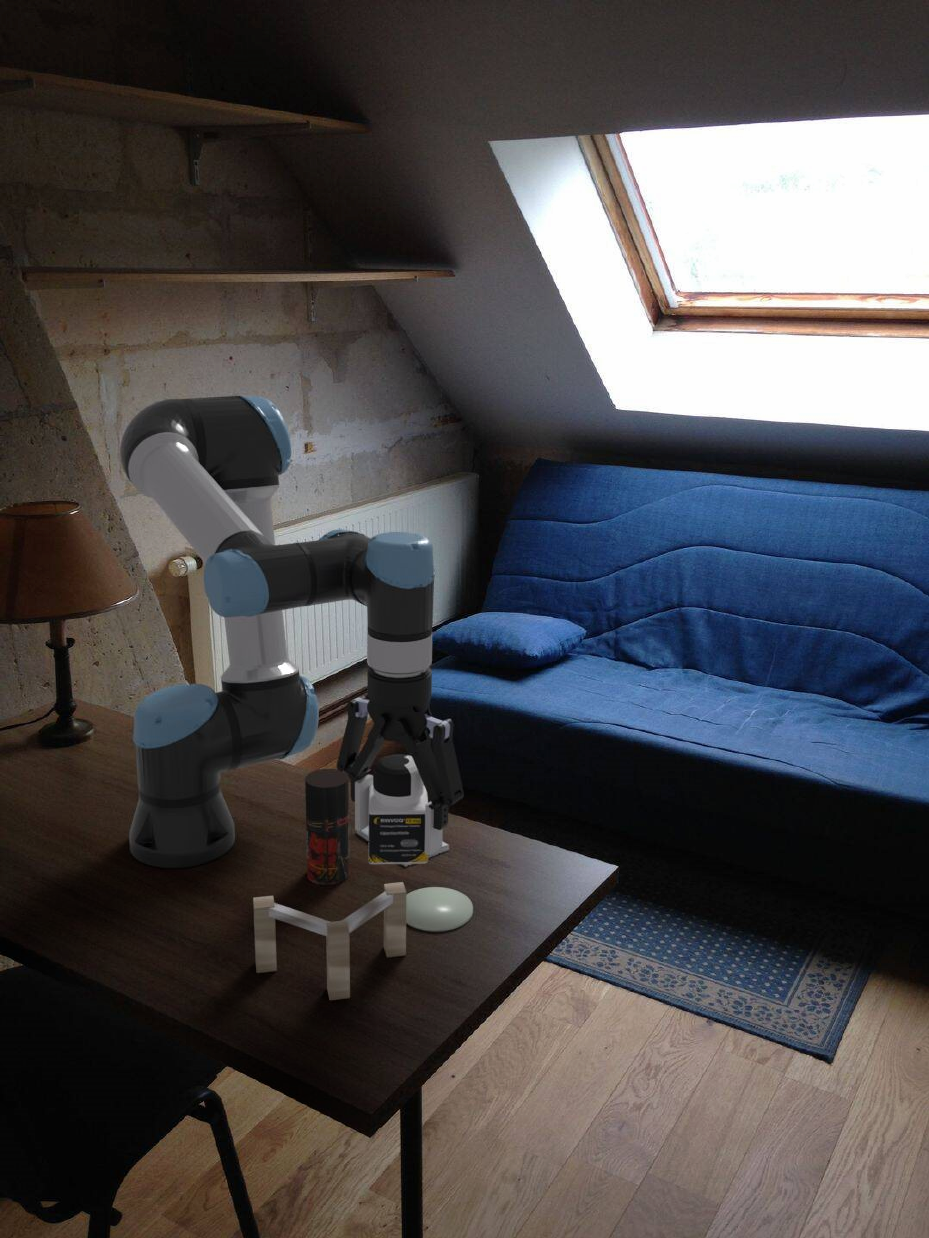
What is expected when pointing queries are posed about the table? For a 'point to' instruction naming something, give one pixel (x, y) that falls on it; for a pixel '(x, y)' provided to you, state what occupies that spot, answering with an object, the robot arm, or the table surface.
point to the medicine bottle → (397, 812)
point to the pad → (437, 909)
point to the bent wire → (332, 933)
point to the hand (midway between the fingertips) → (398, 837)
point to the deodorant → (327, 826)
